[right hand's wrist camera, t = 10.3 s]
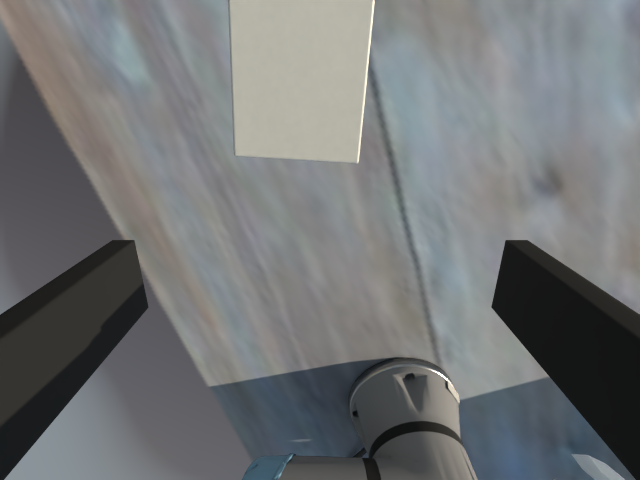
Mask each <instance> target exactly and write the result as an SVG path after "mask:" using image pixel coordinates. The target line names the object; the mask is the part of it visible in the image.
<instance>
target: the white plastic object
mask: <svg viewBox="0 0 640 480" xmlns="http://www.w3.org/2000/svg"><path fill="white" fill-rule="evenodd" d="M572 456H573V457H574V458H575V460H576V461H577V463H578V464H579V465H580V467H581V468H582V469H583V470H584V471H585V472H586V473H587V474H589V475H590V476H591V477H592V478H593V479H594V480H625V479H624V478H623V477H621V476H620V475H619V474H618V473H616V472H615V471H614V470H613V469H612V468H610V467H609V466H608V465H607V464H605V463H603V462H601V461H599V460H597V459H595V458H593V457H591V456H589V455H580V454H572ZM553 480H557V479H553Z"/></svg>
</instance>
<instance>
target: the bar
mask: <svg viewBox="0 0 640 480" xmlns="http://www.w3.org/2000/svg"><path fill="white" fill-rule="evenodd" d="M374 2H375V0H228V8H229V35H230V61H231V87H232V113H233V139H234V155H235V156H237V157H254V158H271V159H288V160H305V161H322V162H339V163H358V162H359V153H360V143H361V133H362V123H363V113H364V103H365V93H366V83H367V73H368V63H369V52H370V42H371V32H372V22H373V12H374Z"/></svg>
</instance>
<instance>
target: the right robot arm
mask: <svg viewBox="0 0 640 480" xmlns="http://www.w3.org/2000/svg"><path fill="white" fill-rule="evenodd" d="M147 308H148V303H147V298H146V293H145V289H144V284H143V279H142V275H141V270H140V265H139V260H138V256H137V251H136V246H135V241H134V240H112V241H111V242H109V243H108V244H106V245H105V246H103V247H102V248H100V249H99V250H97V251H96V252H94V253H93V254H91V255H90V256H88V257H87V258H85V259H84V260H82V261H81V262H79V263H78V264H76V265H75V266H73V267H72V268H70V269H69V270H67V271H66V272H64V273H62V274H61V275H59V276H58V277H56V278H55V279H53V280H52V281H50V282H49V283H47V284H46V285H44V286H43V287H41V288H40V289H38V290H37V291H35V292H34V293H32V294H31V295H29V296H28V297H26V298H25V299H23V300H22V301H20V302H19V303H17V304H16V305H14V306H13V307H11V308H10V309H8V310H7V311H5V312H4V313H2V314H1V315H0V480H4V479H5V478H6V477H7V475H8V474H9V473H10V472H11V471H12V469H13V468H14V467H15V466H16V465H17V463H18V462H19V461H20V460H21V459H22V457H23V456H24V455H25V454H26V453H27V452H28V450H29V449H30V448H31V447H32V446H33V444H34V443H35V442H36V441H37V440H38V438H39V437H40V436H41V435H42V434H43V432H44V431H45V430H46V429H47V428H48V426H49V425H50V424H51V423H52V422H53V420H54V419H55V418H56V417H57V416H58V415H59V413H60V412H61V411H62V410H63V409H64V407H65V406H66V405H67V404H68V403H69V401H70V400H71V399H72V398H73V397H74V395H75V394H76V393H77V392H78V391H79V390H80V388H81V387H82V386H83V385H84V383H85V382H86V381H87V380H88V379H89V378H90V376H91V375H92V374H93V373H94V372H95V370H96V369H97V368H98V367H99V366H100V364H101V363H102V362H103V361H104V360H105V358H106V357H107V356H108V355H109V354H110V353H111V351H112V350H113V349H114V348H115V347H116V345H117V344H118V343H119V342H120V340H121V339H122V338H123V337H124V336H125V335H126V333H127V332H128V331H129V330H130V329H131V327H132V326H133V325H134V324H135V323H136V321H137V320H138V319H139V318H140V317H141V315H142V314H143V313H144V312H145V311H146V310H147ZM492 308H493V310H494V311H495V312H496V313H497V314H498V316H499V317H500V318H501V319H502V320H503V321H504V323H505V324H506V325H507V326H508V327H509V329H510V330H511V331H512V332H513V333H514V335H515V336H516V337H517V338H518V339H519V341H520V342H521V343H522V344H523V345H524V347H525V348H526V349H527V350H528V351H529V353H530V354H531V355H532V356H533V357H534V358H535V360H536V361H537V362H538V363H539V364H540V366H541V367H542V368H543V369H544V370H545V372H546V373H547V374H548V375H549V376H550V378H551V379H552V380H553V381H554V382H555V384H556V385H557V386H558V387H559V388H560V390H561V391H562V392H563V393H564V394H565V395H566V397H567V398H568V399H569V400H570V401H571V403H572V404H573V405H574V406H575V407H576V409H577V410H578V411H579V412H580V413H581V415H582V416H583V417H584V418H585V419H586V421H587V422H588V423H589V424H590V425H591V426H592V428H593V429H594V430H595V431H596V432H597V434H598V435H599V436H600V437H601V438H602V440H603V441H604V442H605V443H606V444H607V446H608V447H609V448H610V449H611V450H612V452H613V453H614V454H615V455H616V456H617V458H618V459H619V460H620V461H621V462H622V463H623V465H624V466H625V467H626V468H627V469H628V471H629V472H630V473H631V474H632V475H633V477H634V478H635V479H636V480H640V314H638V313H636V312H635V311H633V310H632V309H630V308H629V307H627V306H626V305H624V304H623V303H621V302H620V301H618V300H617V299H615V298H614V297H612V296H611V295H609V294H608V293H606V292H605V291H603V290H602V289H600V288H599V287H597V286H596V285H594V284H593V283H591V282H590V281H588V280H587V279H585V278H584V277H582V276H581V275H579V274H578V273H576V272H575V271H573V270H571V269H570V268H568V267H567V266H565V265H564V264H562V263H561V262H559V261H558V260H556V259H555V258H553V257H552V256H550V255H549V254H547V253H546V252H544V251H543V250H541V249H540V248H538V247H537V246H535V245H534V244H532V243H531V242H529V241H528V240H506V241H505V246H504V251H503V256H502V260H501V265H500V270H499V275H498V279H497V284H496V289H495V293H494V298H493V303H492ZM458 402H459V395H458V393H457V392H456V391H455V388H454V386H453V384H452V382H451V380H450V378H449V377H448V375H447V374H446V373H445V372H444V371H443V370H442V369H441V368H439V367H438V366H436V365H434V364H432V363H430V362H427V361H424V360H420V359H414V358H398V359H392V360H388V361H384V362H381V363H379V364H377V365H374V366H373V367H371V368H369V369H368V370H366V371H365V372H364V373H363V374H362V375H361V376H359V378H358V379H357V380H356V381H355V383H354V384H353V386H352V388H351V391H350V395H349V408H350V416H351V419H352V422H353V424H354V427H355V429H356V431H357V433H358V435H359V437H360V439H361V441H362V443H363V445H364V448H363V449H362V450H361V451H360V452H359V453H357V454H356V455H355V456H354V457H321V456H296V454H293V453H291V454H289V455H287V456H263V457H260V458H258V459H256V460H255V461H254V462H253V463H252V464H251V465H250V466H249V468H248V469H247V471H246V473H245V475H244V477H243V479H242V480H478V479H477V477H476V474H475V472H474V470H473V467H472V465H471V462H470V460H469V458H468V455H467V453H466V451H465V448H464V446H463V443H462V441H461V438H460V423H459V405H458ZM459 404H460V402H459ZM366 452H367V453H368V455H369V458H361V457H362V456H363V455H364V454H365V453H366Z"/></svg>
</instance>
